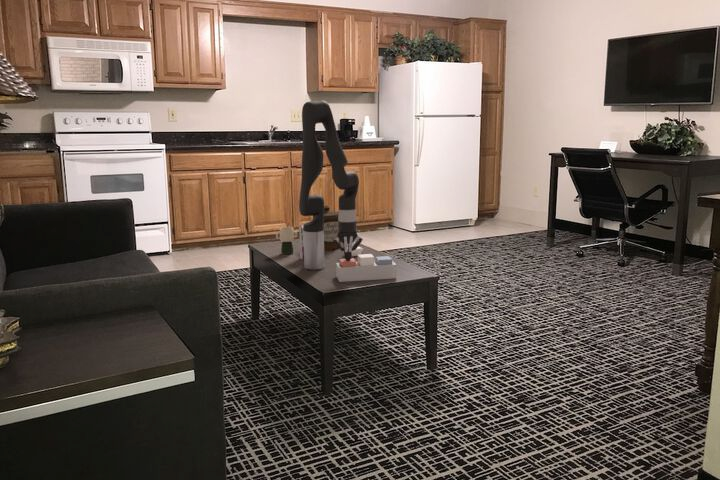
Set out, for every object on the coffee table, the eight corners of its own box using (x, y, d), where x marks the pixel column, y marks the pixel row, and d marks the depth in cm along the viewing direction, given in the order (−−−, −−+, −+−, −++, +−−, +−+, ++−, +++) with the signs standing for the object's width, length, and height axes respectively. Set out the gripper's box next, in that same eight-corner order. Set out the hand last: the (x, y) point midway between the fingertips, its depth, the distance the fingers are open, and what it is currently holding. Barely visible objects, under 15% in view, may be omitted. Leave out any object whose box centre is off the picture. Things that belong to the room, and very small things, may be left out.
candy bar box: (321, 256, 289) (320, 223, 286) (324, 258, 285) (323, 225, 281) (299, 258, 285) (298, 225, 282) (302, 260, 281) (301, 226, 277)
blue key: (375, 268, 253) (375, 256, 252) (388, 267, 254) (388, 256, 253) (378, 271, 248) (378, 260, 247) (392, 270, 249) (392, 259, 248)
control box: (336, 276, 252) (336, 262, 251) (391, 273, 257) (391, 259, 255) (339, 281, 244) (339, 267, 242) (396, 278, 248) (396, 264, 247)
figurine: (352, 257, 285) (351, 227, 282) (342, 254, 293) (342, 224, 290) (364, 255, 289) (364, 226, 286) (355, 252, 297) (354, 223, 294)
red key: (339, 270, 250) (339, 258, 249) (353, 269, 252) (353, 258, 250) (342, 273, 245) (342, 262, 244) (356, 272, 246) (356, 261, 245)
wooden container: (320, 251, 300) (319, 208, 296) (309, 245, 313) (307, 205, 309) (346, 247, 307) (345, 206, 303) (334, 242, 320) (333, 202, 315)
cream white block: (357, 265, 252) (357, 254, 251) (371, 265, 253) (371, 253, 252) (360, 269, 246) (360, 257, 245) (374, 268, 247) (374, 256, 246)
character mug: (296, 251, 301) (295, 226, 298) (299, 254, 294) (298, 228, 291) (275, 253, 297) (274, 227, 294) (278, 256, 290) (277, 230, 288)
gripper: (361, 217, 248) (361, 257, 252) (330, 219, 246) (331, 259, 249) (364, 220, 241) (365, 261, 245) (332, 222, 239) (333, 263, 242)
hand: (347, 260), depth 247 cm, fingers closed
